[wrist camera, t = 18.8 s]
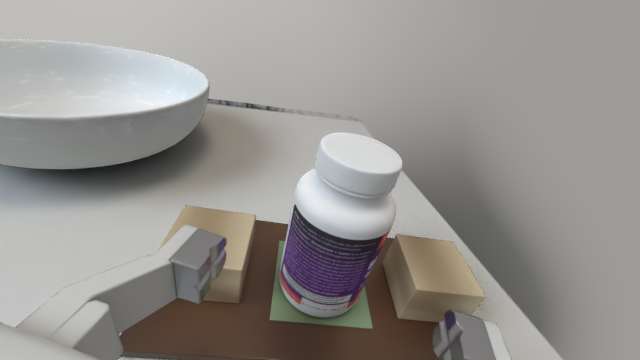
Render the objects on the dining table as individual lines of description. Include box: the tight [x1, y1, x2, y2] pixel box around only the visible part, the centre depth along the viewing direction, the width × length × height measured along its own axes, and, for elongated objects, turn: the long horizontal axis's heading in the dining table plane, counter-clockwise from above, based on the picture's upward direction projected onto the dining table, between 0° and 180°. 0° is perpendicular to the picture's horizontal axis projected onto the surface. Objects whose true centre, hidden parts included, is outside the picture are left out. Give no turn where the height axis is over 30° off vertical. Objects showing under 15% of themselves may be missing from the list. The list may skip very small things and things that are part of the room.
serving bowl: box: [0, 40, 210, 169], centre depth 25 cm, size 21×21×7 cm
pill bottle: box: [279, 133, 402, 318], centre depth 16 cm, size 5×5×10 cm
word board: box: [120, 205, 486, 360], centre depth 18 cm, size 20×10×4 cm, turn 92°
